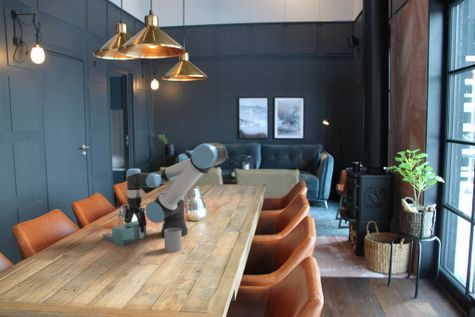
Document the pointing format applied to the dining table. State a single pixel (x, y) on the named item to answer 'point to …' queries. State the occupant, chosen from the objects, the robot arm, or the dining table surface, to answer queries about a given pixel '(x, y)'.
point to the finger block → (136, 228)
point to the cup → (173, 240)
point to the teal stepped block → (121, 235)
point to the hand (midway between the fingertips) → (135, 236)
